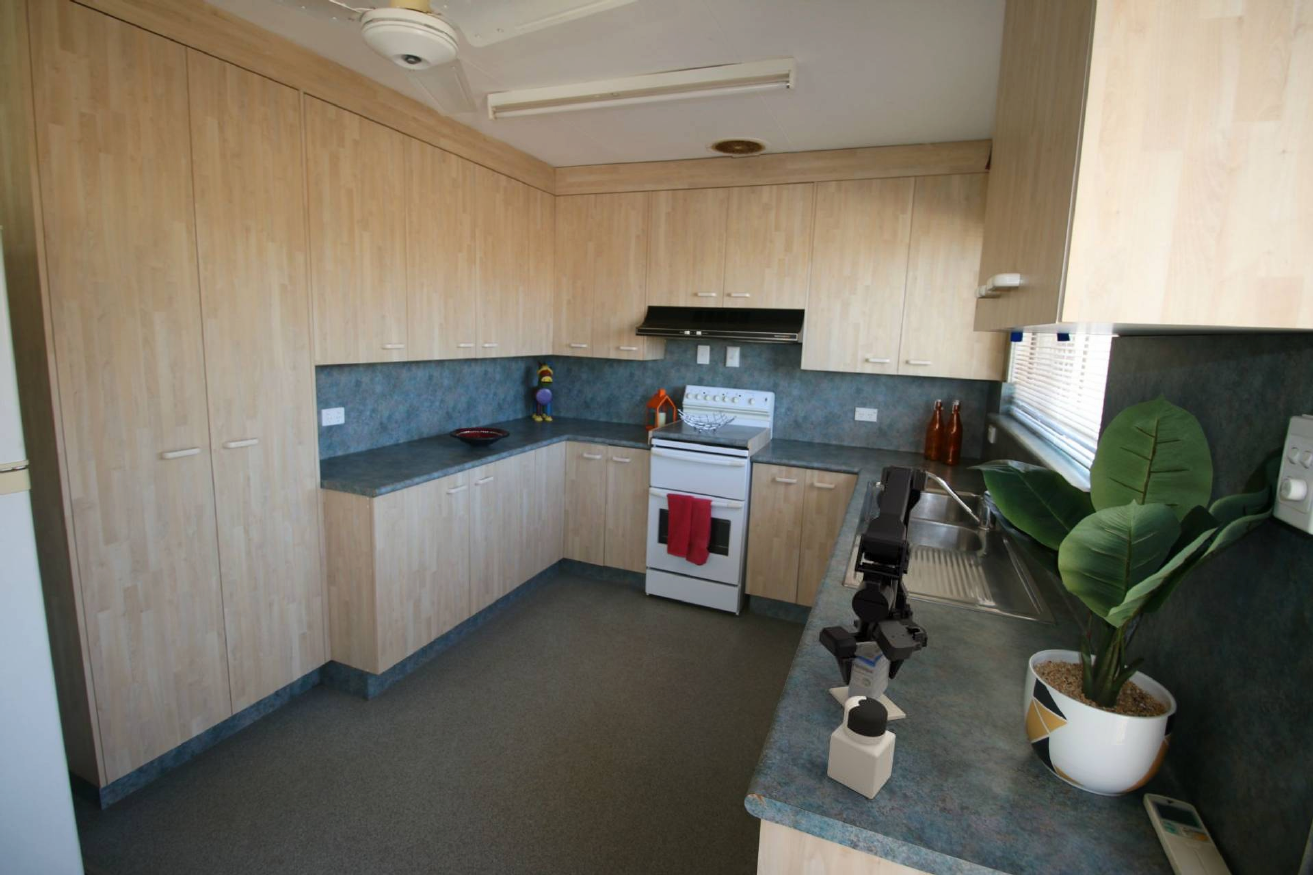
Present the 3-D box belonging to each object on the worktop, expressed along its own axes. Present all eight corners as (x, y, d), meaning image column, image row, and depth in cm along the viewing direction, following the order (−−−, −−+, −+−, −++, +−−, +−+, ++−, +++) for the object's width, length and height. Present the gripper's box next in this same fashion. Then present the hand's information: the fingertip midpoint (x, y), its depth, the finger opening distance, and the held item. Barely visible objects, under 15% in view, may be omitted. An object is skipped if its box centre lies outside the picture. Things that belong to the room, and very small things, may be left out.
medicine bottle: (891, 776, 96) (900, 704, 94) (871, 801, 90) (880, 725, 88) (847, 753, 100) (854, 684, 98) (826, 776, 95) (833, 704, 93)
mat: (871, 686, 120) (871, 683, 120) (905, 717, 110) (905, 714, 110) (829, 691, 117) (829, 688, 117) (860, 724, 108) (860, 721, 108)
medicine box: (864, 680, 118) (868, 637, 116) (887, 689, 115) (892, 645, 114) (846, 698, 112) (851, 653, 110) (871, 708, 109) (876, 662, 108)
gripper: (857, 626, 100) (848, 715, 103) (955, 615, 105) (944, 700, 108) (821, 596, 111) (813, 677, 113) (911, 588, 116) (902, 666, 119)
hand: (868, 680), depth 113 cm, fingers closed on medicine box, 9 cm apart
